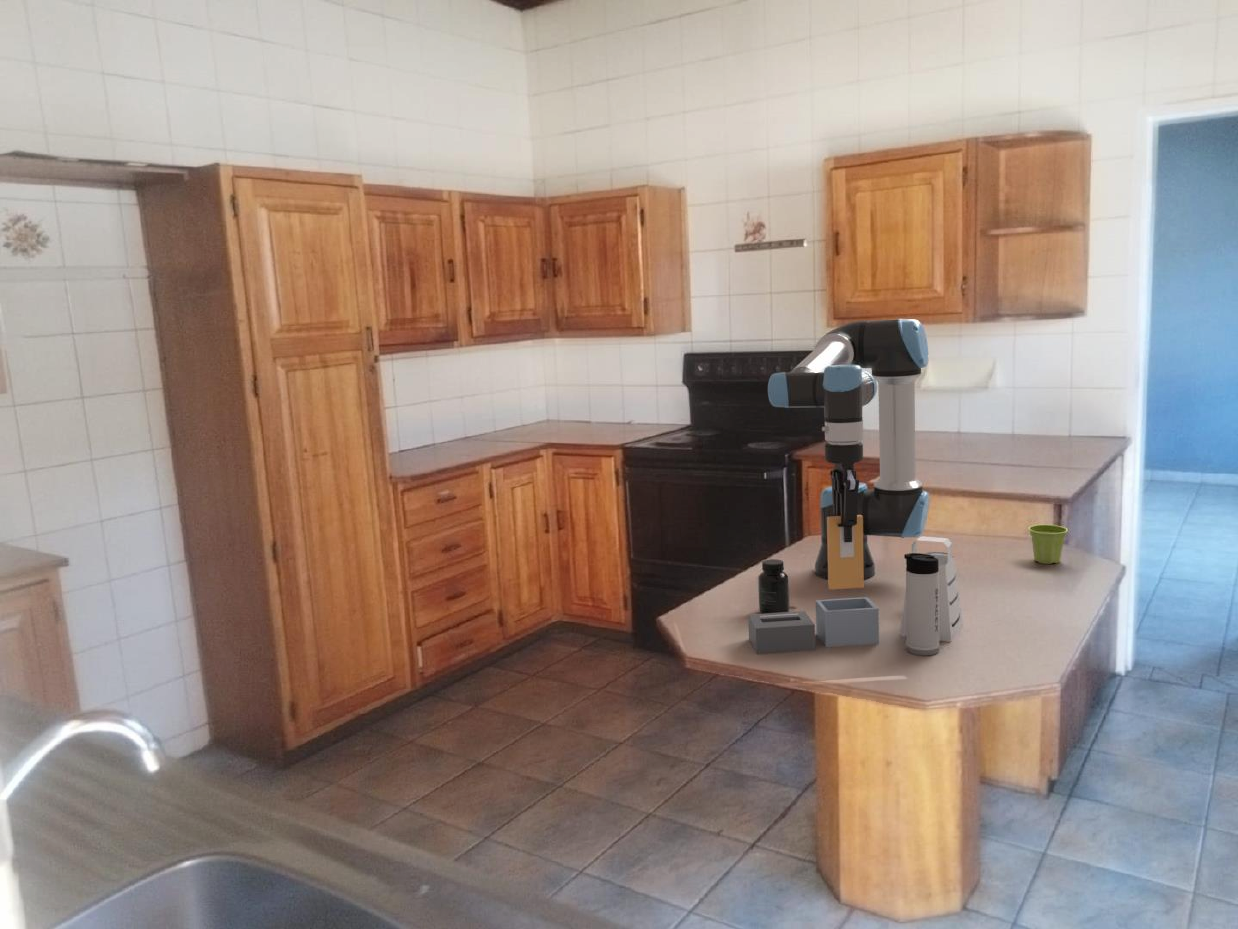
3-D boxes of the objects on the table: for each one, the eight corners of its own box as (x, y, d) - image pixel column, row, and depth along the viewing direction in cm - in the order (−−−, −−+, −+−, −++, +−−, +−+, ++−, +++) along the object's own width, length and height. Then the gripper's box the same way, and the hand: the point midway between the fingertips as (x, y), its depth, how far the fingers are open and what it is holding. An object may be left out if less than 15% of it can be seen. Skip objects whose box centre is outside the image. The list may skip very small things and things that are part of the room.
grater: (951, 642, 200) (951, 547, 197) (900, 635, 205) (899, 543, 202) (963, 626, 209) (963, 535, 205) (913, 620, 214) (913, 531, 211)
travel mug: (900, 646, 199) (899, 551, 195) (931, 644, 199) (931, 549, 196) (911, 657, 193) (911, 559, 189) (944, 654, 193) (944, 556, 190)
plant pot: (1069, 558, 255) (1070, 526, 254) (1064, 567, 247) (1064, 534, 246) (1031, 555, 260) (1032, 523, 259) (1024, 564, 252) (1025, 531, 251)
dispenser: (756, 656, 197) (755, 626, 196) (749, 641, 206) (748, 612, 205) (815, 653, 198) (814, 622, 197) (805, 638, 207) (804, 608, 206)
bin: (816, 636, 207) (815, 600, 206) (867, 633, 208) (867, 597, 206) (825, 649, 199) (825, 612, 198) (879, 646, 200) (878, 608, 198)
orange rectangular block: (830, 589, 200) (828, 518, 198) (828, 587, 202) (826, 516, 200) (863, 587, 201) (862, 516, 198) (861, 585, 202) (860, 514, 200)
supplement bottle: (771, 605, 230) (769, 556, 228) (795, 611, 225) (793, 560, 223) (753, 613, 225) (751, 562, 223) (777, 619, 220) (775, 567, 218)
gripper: (816, 438, 204) (818, 548, 207) (834, 448, 189) (836, 565, 193) (852, 436, 204) (853, 546, 208) (872, 445, 190) (874, 563, 193)
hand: (845, 555), depth 200 cm, fingers closed on orange rectangular block, 1 cm apart
